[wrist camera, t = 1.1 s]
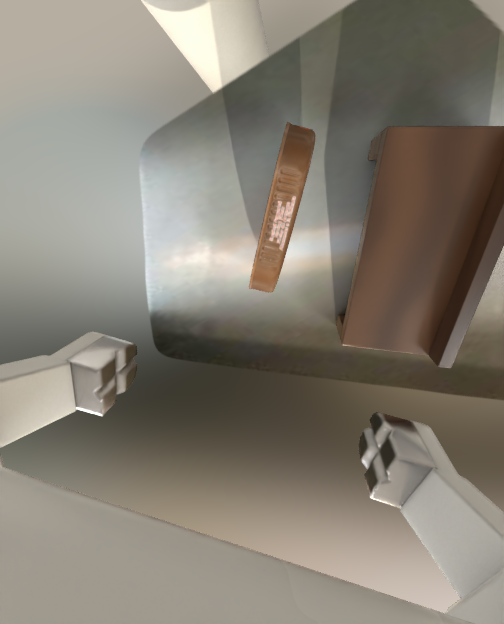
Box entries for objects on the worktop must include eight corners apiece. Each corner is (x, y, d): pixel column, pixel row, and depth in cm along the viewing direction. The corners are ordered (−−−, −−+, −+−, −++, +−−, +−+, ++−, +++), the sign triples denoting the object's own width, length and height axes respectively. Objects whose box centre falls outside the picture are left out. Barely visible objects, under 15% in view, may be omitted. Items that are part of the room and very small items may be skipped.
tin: (286, 134, 25) (280, 104, 18) (317, 141, 25) (324, 114, 17) (253, 275, 32) (238, 298, 24) (277, 282, 31) (270, 307, 24)
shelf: (336, 325, 32) (344, 355, 26) (371, 140, 24) (396, 118, 18) (420, 334, 31) (451, 368, 24) (487, 141, 23) (559, 117, 16)
